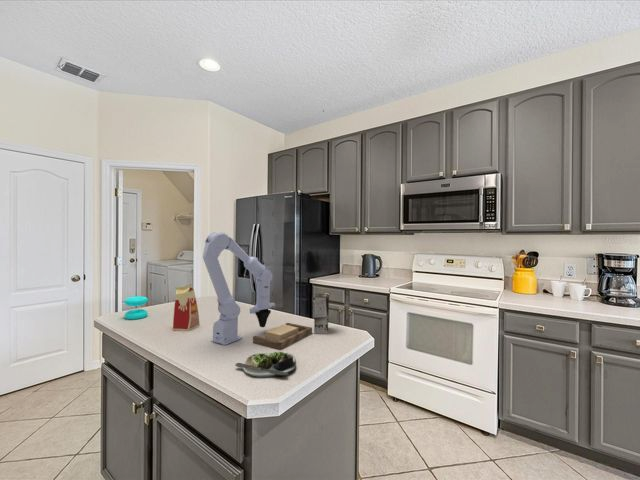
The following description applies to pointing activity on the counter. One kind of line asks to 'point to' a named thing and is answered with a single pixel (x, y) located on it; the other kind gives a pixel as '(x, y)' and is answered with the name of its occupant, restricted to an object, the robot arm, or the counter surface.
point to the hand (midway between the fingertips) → (262, 326)
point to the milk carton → (185, 309)
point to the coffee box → (321, 313)
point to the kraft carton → (281, 332)
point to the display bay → (279, 345)
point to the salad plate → (269, 364)
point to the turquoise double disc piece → (136, 312)
